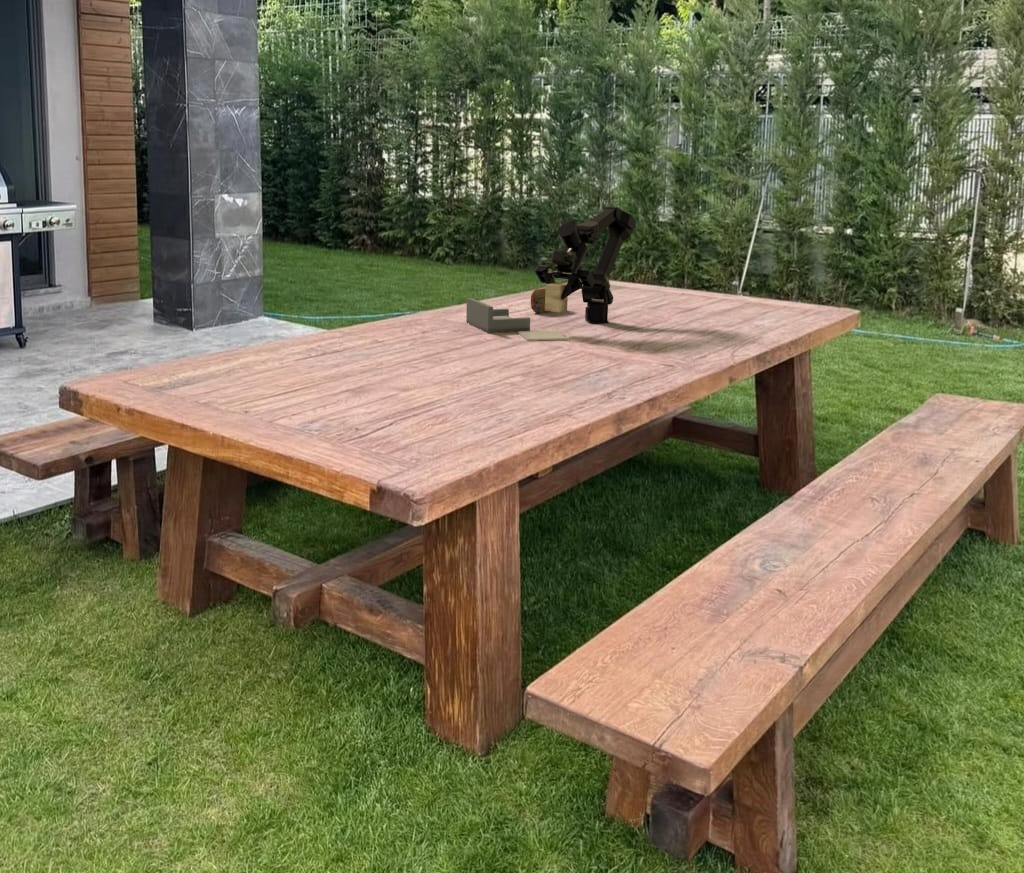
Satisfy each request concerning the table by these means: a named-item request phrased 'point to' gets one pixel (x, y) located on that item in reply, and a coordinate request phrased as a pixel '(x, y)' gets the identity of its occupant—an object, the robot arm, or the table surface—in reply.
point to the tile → (543, 335)
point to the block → (555, 297)
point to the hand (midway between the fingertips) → (554, 297)
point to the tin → (538, 300)
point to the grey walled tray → (493, 318)
